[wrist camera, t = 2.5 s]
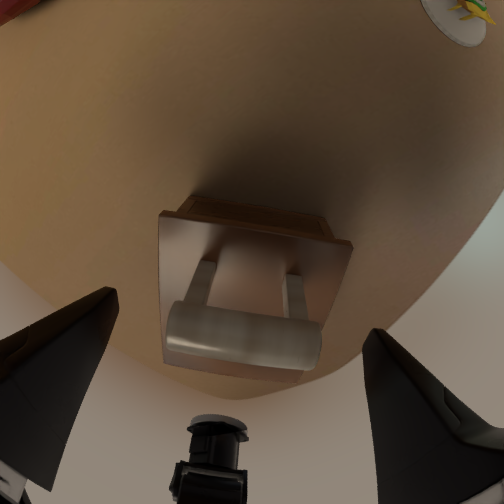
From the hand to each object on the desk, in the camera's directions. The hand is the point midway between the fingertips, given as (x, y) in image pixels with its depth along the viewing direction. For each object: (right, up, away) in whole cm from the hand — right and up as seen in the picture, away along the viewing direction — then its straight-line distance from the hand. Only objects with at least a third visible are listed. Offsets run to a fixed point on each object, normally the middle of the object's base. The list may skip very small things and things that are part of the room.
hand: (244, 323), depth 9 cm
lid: (0, -1, +4) cm, 4 cm away
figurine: (+13, +18, -1) cm, 22 cm away
